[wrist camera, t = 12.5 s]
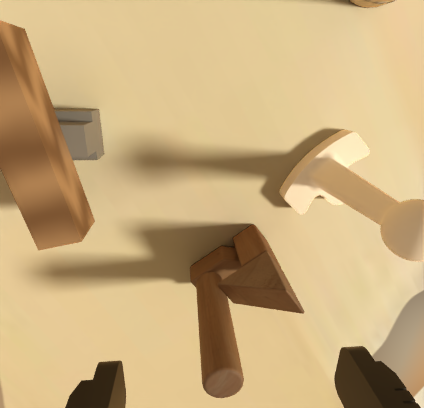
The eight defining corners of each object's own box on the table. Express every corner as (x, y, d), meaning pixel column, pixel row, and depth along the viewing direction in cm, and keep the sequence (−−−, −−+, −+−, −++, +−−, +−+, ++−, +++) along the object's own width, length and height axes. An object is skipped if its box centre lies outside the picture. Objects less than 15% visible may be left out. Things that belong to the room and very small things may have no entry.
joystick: (340, 122, 37) (501, 161, 18) (374, 163, 39) (548, 236, 20) (272, 187, 39) (353, 281, 20) (309, 222, 41) (411, 336, 23)
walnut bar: (-23, 38, 25) (-64, 29, 21) (24, 29, 25) (-7, 18, 21) (57, 228, 32) (38, 250, 28) (94, 221, 32) (81, 241, 28)
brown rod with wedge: (267, 241, 42) (323, 345, 25) (204, 282, 43) (217, 407, 27) (252, 222, 40) (301, 319, 24) (188, 265, 42) (192, 385, 25)
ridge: (23, 108, 33) (-10, 114, 27) (98, 109, 34) (81, 114, 28) (32, 154, 35) (3, 167, 29) (104, 153, 35) (89, 166, 30)
